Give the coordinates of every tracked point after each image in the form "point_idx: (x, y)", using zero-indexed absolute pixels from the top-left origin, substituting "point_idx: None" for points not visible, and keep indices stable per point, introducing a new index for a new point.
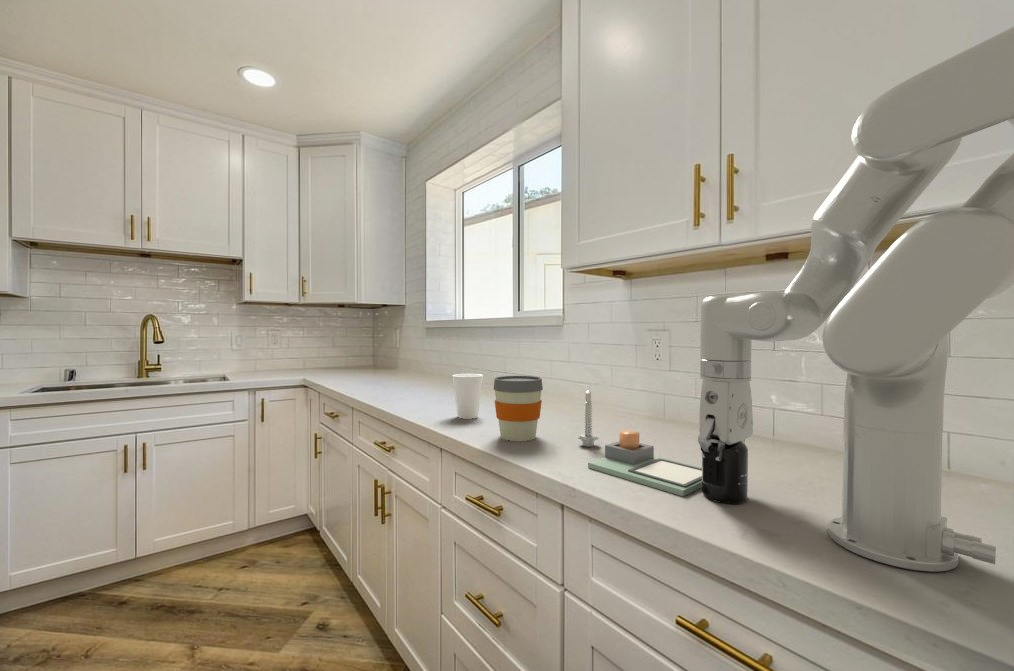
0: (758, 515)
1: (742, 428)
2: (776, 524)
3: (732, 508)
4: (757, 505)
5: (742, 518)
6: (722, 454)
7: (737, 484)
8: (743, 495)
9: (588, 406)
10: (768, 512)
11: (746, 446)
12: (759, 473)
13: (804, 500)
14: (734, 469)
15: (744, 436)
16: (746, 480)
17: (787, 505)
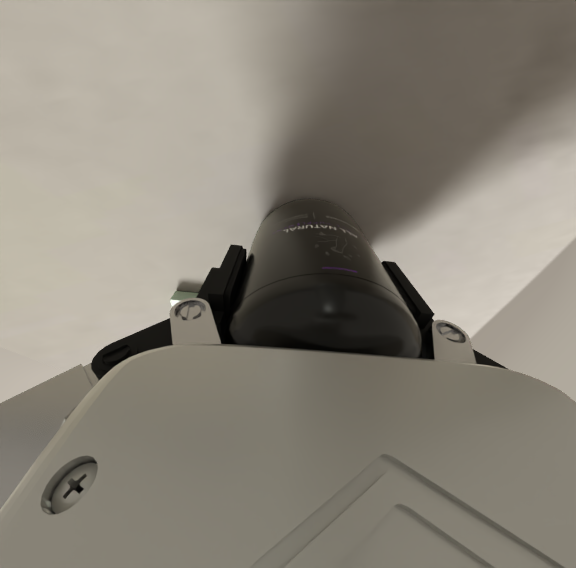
0: (396, 138)
1: (370, 462)
2: (454, 61)
3: (376, 212)
4: (312, 163)
5: (440, 171)
6: (440, 340)
7: (360, 232)
8: (332, 206)
9: None
10: (353, 117)
11: (295, 304)
12: (30, 231)
13: (128, 13)
14: (382, 266)
15: (324, 370)
16: (320, 218)
17: (242, 71)
